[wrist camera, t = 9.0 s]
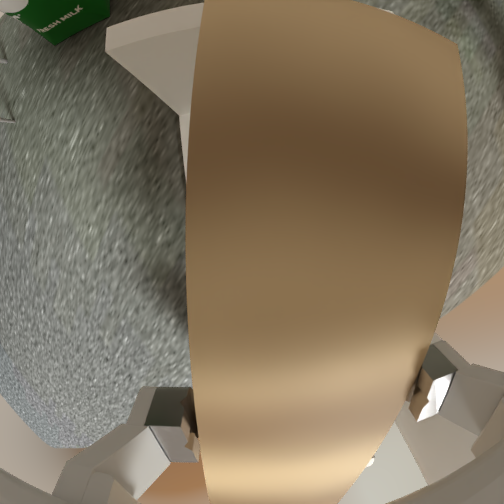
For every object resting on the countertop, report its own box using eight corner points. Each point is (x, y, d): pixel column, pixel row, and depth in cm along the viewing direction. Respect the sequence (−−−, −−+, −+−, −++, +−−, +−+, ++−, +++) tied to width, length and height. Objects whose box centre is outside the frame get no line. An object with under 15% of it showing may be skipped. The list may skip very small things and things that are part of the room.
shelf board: (217, 40, 6) (207, -16, 3) (402, 71, 7) (457, 44, 4) (215, 480, 12) (213, 521, 9) (317, 476, 12) (326, 515, 9)
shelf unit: (312, 91, 20) (392, 11, 7) (326, 357, 27) (371, 465, 14) (180, 104, 20) (106, 27, 7) (221, 370, 27) (212, 488, 13)
